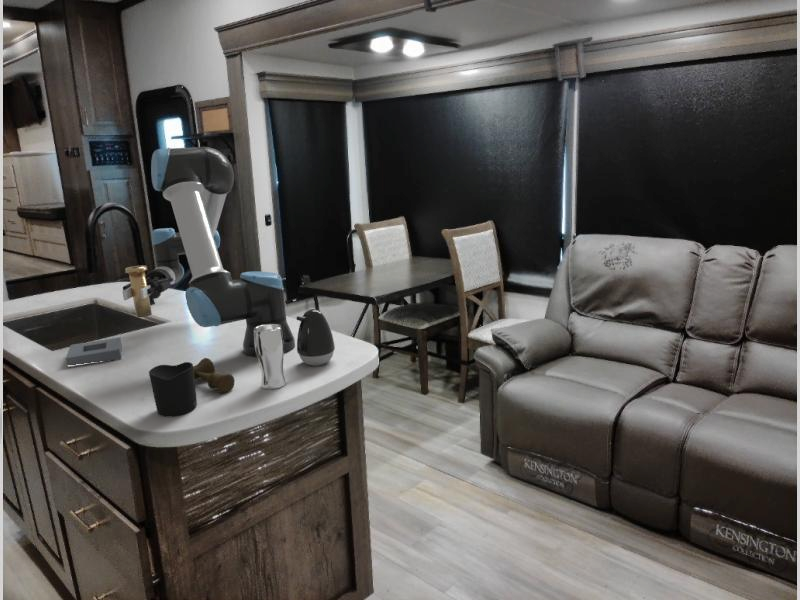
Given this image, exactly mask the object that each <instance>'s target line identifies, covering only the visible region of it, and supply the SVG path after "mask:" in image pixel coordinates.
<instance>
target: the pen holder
mask: <svg viewBox="0 0 800 600" xmlns="http://www.w3.org/2000/svg"><path fill="white" fill-rule="evenodd" d="M193 366H194V364H193V363H192V362H189V361H185V362H181V363H180V364H176V365H172V364H171V365H169V364H161V365H160V364H159V365H157V366H154V367H152V368H151V369H150V370H148V375H149V379H150V384H151V389H152V390H151V391H152V395H153V399H154V403H155V406H156V407H155V408H156V411H157V413H158V414H159V415H160V416H162V415H163V416H162V417H166V416H172V417H177V416H178V417H179V416H183V415H187V414H188V413H190V412H192V411H194V410H195V409H196V407H197V405H198V400H197V390H196V381H195V380H196V379H194V370H193Z"/></svg>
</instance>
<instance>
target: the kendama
mask: <svg viewBox="0 0 800 600" xmlns="http://www.w3.org/2000/svg"><path fill="white" fill-rule="evenodd" d="M193 370H194V379H195V380H197V379H201V380H202V381H204V382H206V383H207V385H208V387H209V388H210V389H213V390H215V389H216V390H217V392H218V393H219V394H223V395H224V394H228V393H229V392H232V390H233V389H234V386H235V381H236V380H235V377H234V376H233V374H232V373H227V372H226V373H222V372H221V371H216V369H215V365H214V363H213V361H212V360H211V359H210V358H208V357H207V358H206V357H204V358H202V359H201V360H200V361H199V362H198V363H197V364H196V365H193Z"/></svg>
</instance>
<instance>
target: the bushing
mask: <svg viewBox="0 0 800 600" xmlns="http://www.w3.org/2000/svg"><path fill="white" fill-rule="evenodd" d="M124 270H125V274H128V275H129V281H130V282H129V283H131V289H132V294H133V297H132V300H133V306H134V309H135V310H134V311H135V316H136V318H145V317H149V316H152V315H153V313H152V307H151V306H152V305H151V301H150V295H149V296H148V297H146V298H145V299H141V293H140V290H141V289H143V288H144V287H146V286H147V282H146V272H147V271H148V266H147V265H134V266H127V267H125V268H124Z"/></svg>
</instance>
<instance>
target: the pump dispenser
mask: <svg viewBox="0 0 800 600" xmlns="http://www.w3.org/2000/svg"><path fill="white" fill-rule="evenodd" d="M296 321H300V324H299V327H298V332H297V341H296V353H297V354H298V355H299V358H300V359H301V361H302V362H303V363H304V364H306V365H308V366H312V367H313V366H314V367H317V366H322V365H325V364H327V363H329V362H330V361H331V360H332V358H333V355H334V353H335V352H334V351H335V349H336V347H335V345H336V344H335V341H334V336H333V333H332V330H331V327H330V324H329V323H328V321H327V318H326V317H325V315H324V314H323V312H321V311H320V310H319V309H317V308H316V309H315V308H311V309H307V310H306V311H305V312H304V313H303V315H302V316H296Z"/></svg>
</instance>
